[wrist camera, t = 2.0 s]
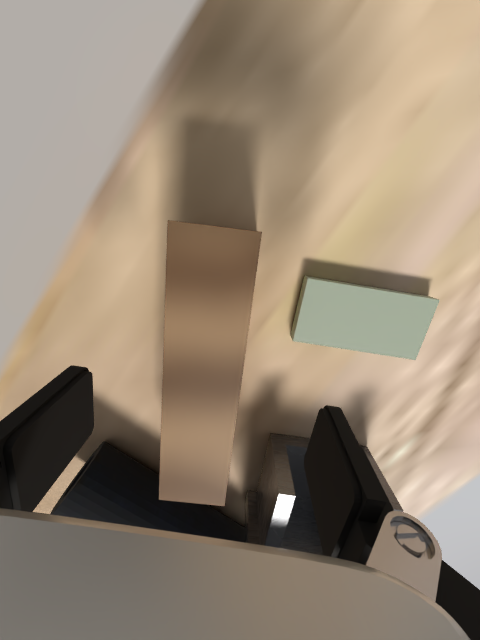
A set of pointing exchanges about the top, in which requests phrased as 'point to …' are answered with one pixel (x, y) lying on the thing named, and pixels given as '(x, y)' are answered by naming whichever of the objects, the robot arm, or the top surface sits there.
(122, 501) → the pipe connector
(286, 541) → the grey metal bracket
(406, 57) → the top surface
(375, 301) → the pad
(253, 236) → the walnut rail
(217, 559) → the robot arm
